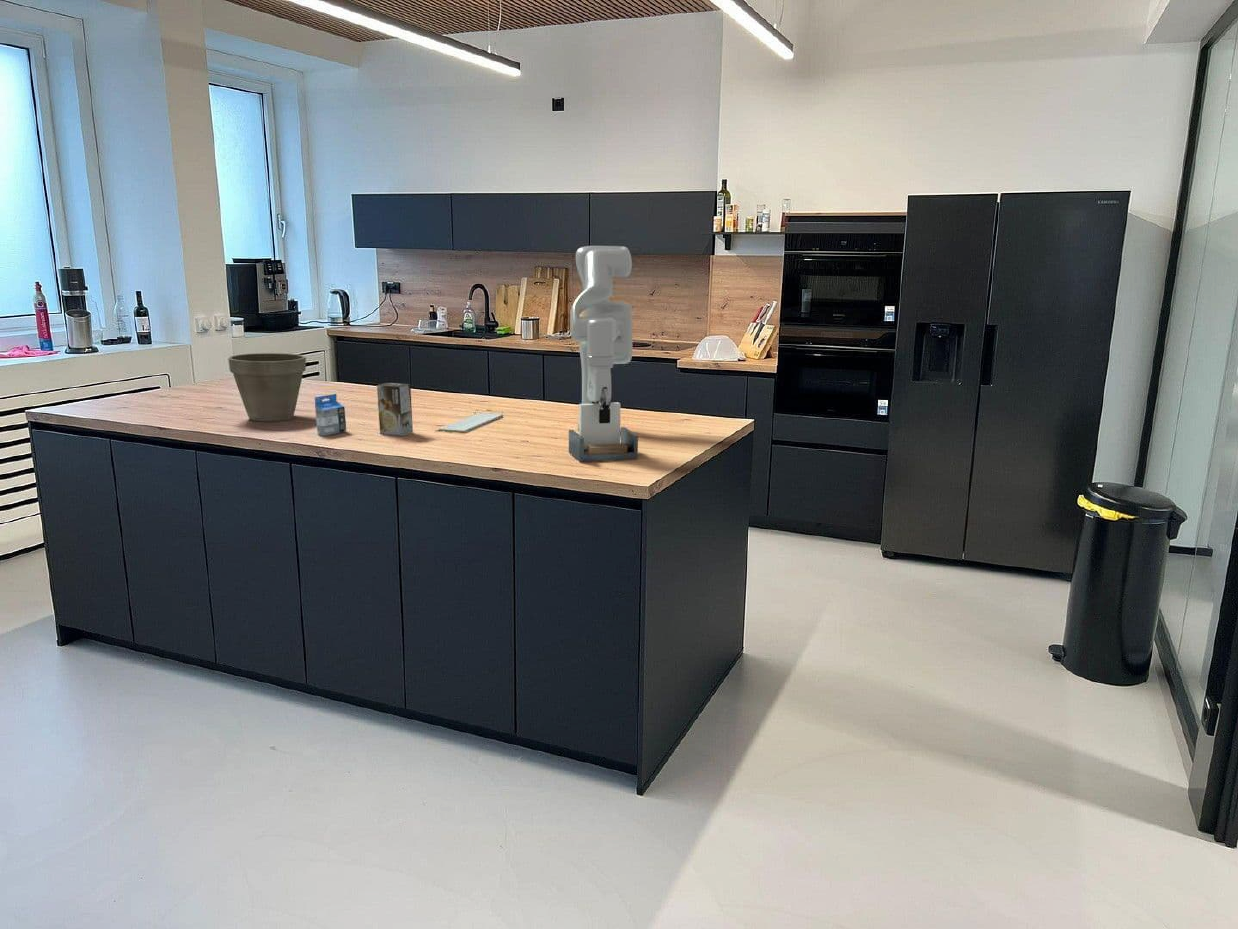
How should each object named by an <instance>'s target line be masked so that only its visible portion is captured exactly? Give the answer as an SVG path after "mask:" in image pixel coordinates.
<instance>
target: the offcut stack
mask: <svg viewBox="0 0 1238 929" xmlns="http://www.w3.org/2000/svg"><path fill="white" fill-rule="evenodd" d="M625 452H627V445H625V444H624V443H621V442H620V443H616V444H597V445H587V452H584V455H591V454H608V453H625Z"/></svg>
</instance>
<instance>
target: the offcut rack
mask: <svg viewBox="0 0 1238 929" xmlns="http://www.w3.org/2000/svg"><path fill="white" fill-rule="evenodd" d="M620 443H624V444H625V445H627V452H625V453H608V454H591V455H584V452H587V449H584V438H583V437H581V436H580V435H579V432H578V433H577V432H576V431H575V430H574V429H568V454H569V453H570V454H569V455H571V454H572V455H571V456H572V457H573V458H574V459H575V460H576V461H577V460H578V461H579V462H578V461H577V462H578V463H580V462H583V463H593V462H592V461H599V462H607V461H606V460H615V461H626V460H627V461H629V460H638V458H639V453H638V452H639V444H638V443H639V435H638V434H637V433H635V432H633V431H631V430H630V429H628V428H627V427H625V426H622V427H621V426H620ZM604 460H605V461H604Z"/></svg>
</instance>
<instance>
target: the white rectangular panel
mask: <svg viewBox="0 0 1238 929" xmlns="http://www.w3.org/2000/svg"><path fill="white" fill-rule="evenodd" d="M610 403H611V404H610V423H599V410H600V405H599V403H589V404H582V403H578V424H579V430H578V434H579V435H580V436H581V437H583V438H584V449H587V445H597V444H616V443H621V403H620V402H610ZM602 405H603V403H602Z"/></svg>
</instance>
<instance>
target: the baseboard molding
mask: <svg viewBox="0 0 1238 929" xmlns="http://www.w3.org/2000/svg"><path fill="white" fill-rule="evenodd" d="M478 411H479V410H478V409H476V410H475V412H474V414H472V415H470V416H467V417H465V418H463V419H461V420H458V421H455V422H453V423H450V424H448V425H445V426H442V427H440V428H437V429H435V430H434V431H435V432H440V431H445V432H444V433H452V432H459V433H458V434H466V433H468V432H470V431H469V430H471V431H473V430H475V429H477V427H478V428H480V427H482V426H484V425H483V424H485V425H487V424H489V423H492V422H494V421H497V420H498V419H497V418H499V419H501V418H503V417H504V414H503V413H504V412H503V411H502V412H501V413H502V414H501V413H491V412H494V411H492V409H486V410H485V412H479V413H476V412H478ZM486 412H489V413H486ZM500 417H501V418H500ZM496 419H497V420H496ZM493 420H494V421H493ZM491 421H492V422H491ZM486 423H487V424H486ZM481 425H482V426H481ZM479 426H480V427H479ZM467 431H468V432H467ZM465 432H466V433H465Z"/></svg>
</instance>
